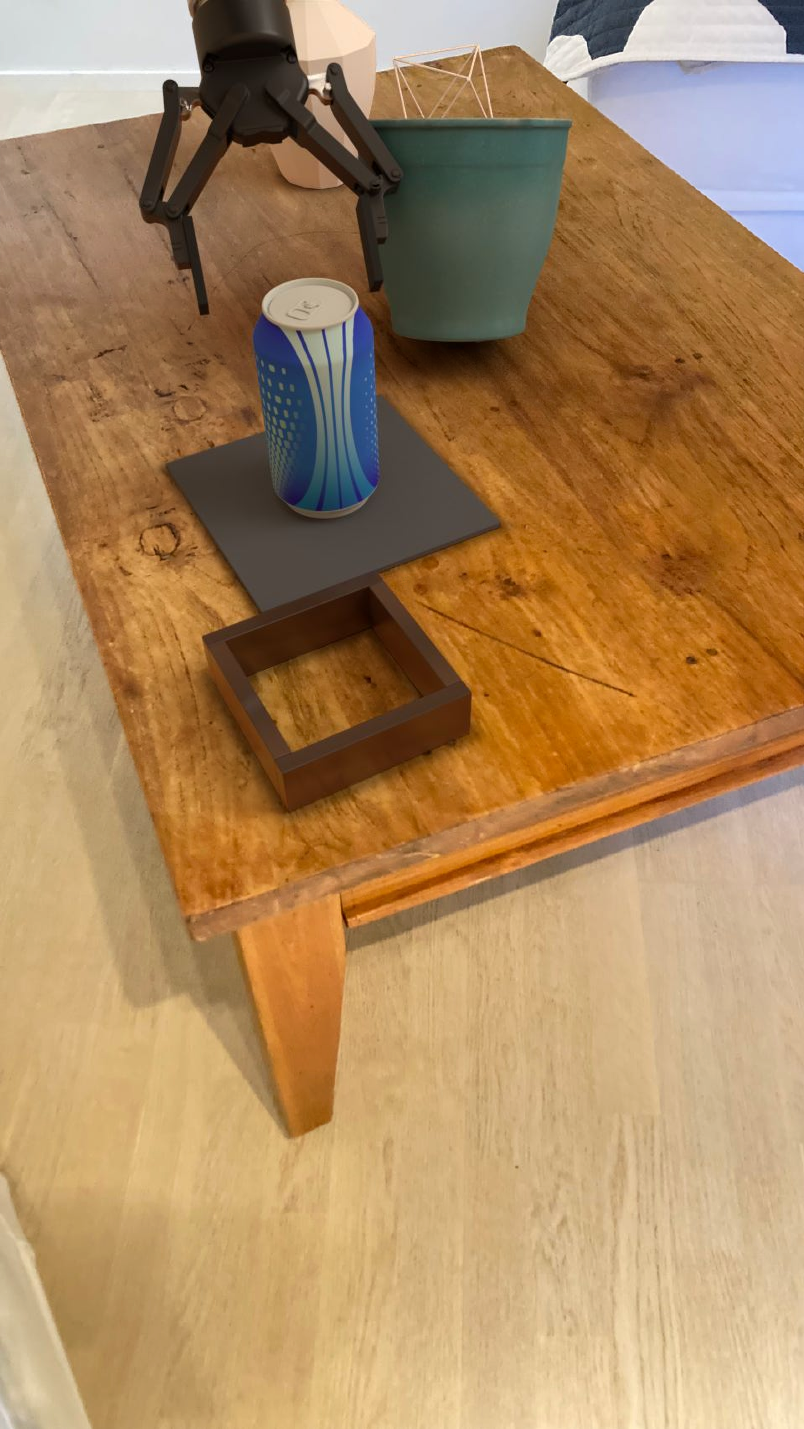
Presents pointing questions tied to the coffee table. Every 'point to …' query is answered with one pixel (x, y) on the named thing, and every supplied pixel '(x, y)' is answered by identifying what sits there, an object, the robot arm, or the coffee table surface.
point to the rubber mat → (326, 552)
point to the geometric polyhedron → (444, 73)
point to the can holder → (359, 746)
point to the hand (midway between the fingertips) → (291, 298)
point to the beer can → (318, 396)
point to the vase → (320, 41)
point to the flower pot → (469, 222)
